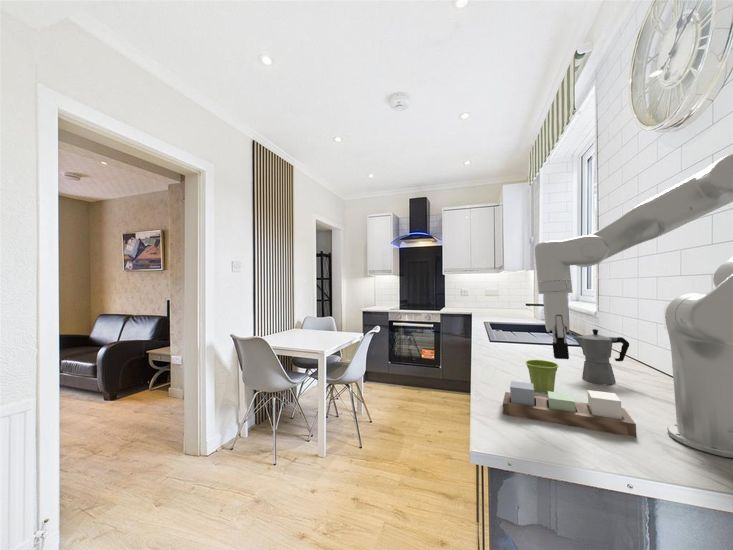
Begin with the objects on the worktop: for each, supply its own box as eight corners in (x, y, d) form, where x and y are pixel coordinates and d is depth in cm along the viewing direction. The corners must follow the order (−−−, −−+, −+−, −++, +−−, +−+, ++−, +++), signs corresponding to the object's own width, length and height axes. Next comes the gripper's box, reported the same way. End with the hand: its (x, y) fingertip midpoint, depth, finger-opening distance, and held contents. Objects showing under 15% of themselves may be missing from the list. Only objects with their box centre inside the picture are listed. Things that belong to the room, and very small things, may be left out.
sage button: (573, 413, 76) (572, 394, 76) (576, 422, 71) (575, 401, 71) (548, 409, 78) (547, 391, 79) (549, 418, 74) (548, 398, 74)
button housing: (624, 420, 72) (624, 408, 72) (636, 437, 64) (635, 424, 64) (505, 402, 85) (505, 391, 85) (503, 414, 77) (502, 403, 77)
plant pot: (559, 387, 96) (557, 361, 96) (561, 397, 88) (559, 368, 88) (527, 383, 101) (525, 358, 101) (526, 392, 93) (524, 365, 93)
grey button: (534, 401, 80) (533, 383, 80) (534, 409, 75) (533, 389, 76) (512, 398, 83) (511, 381, 83) (511, 405, 78) (510, 386, 78)
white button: (616, 413, 71) (615, 393, 72) (622, 423, 67) (621, 401, 67) (588, 409, 74) (587, 390, 74) (592, 418, 69) (591, 397, 70)
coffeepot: (575, 381, 102) (572, 329, 102) (575, 374, 109) (572, 326, 110) (634, 388, 93) (630, 332, 94) (629, 380, 101) (625, 328, 101)
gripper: (537, 288, 84) (543, 351, 83) (538, 289, 72) (545, 364, 70) (568, 286, 81) (575, 353, 80) (575, 287, 68) (583, 366, 67)
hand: (561, 358), depth 75 cm, fingers closed
